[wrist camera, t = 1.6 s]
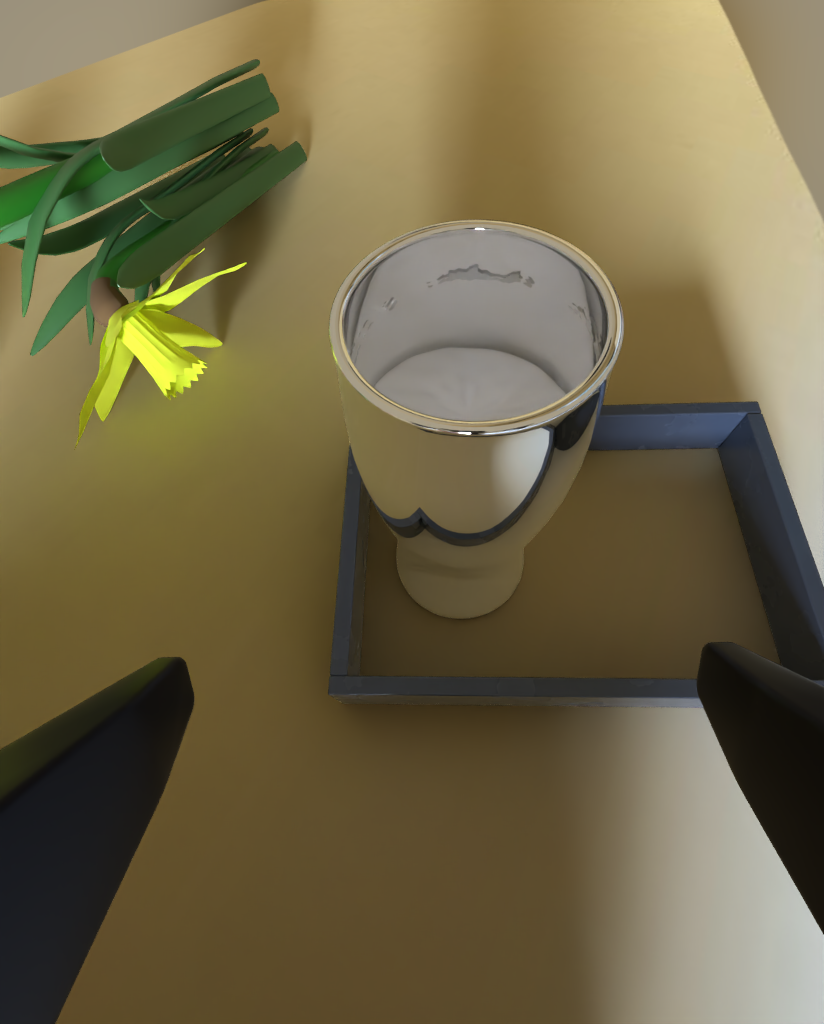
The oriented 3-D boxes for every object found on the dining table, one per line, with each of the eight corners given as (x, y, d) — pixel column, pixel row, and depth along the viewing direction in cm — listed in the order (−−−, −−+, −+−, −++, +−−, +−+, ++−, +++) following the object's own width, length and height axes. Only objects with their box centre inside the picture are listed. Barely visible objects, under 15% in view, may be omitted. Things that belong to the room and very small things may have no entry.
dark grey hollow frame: (811, 709, 21) (865, 700, 18) (342, 703, 22) (327, 694, 20) (727, 437, 27) (758, 400, 24) (361, 444, 28) (352, 410, 26)
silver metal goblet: (500, 655, 23) (576, 492, 9) (362, 591, 24) (258, 376, 11) (552, 525, 25) (670, 251, 12) (425, 475, 27) (402, 188, 14)
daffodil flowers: (402, 181, 40) (147, 500, 17) (274, 268, 48) (-18, 566, 25) (253, -103, 31) (-708, -214, 8) (124, 62, 39) (-550, 240, 16)
